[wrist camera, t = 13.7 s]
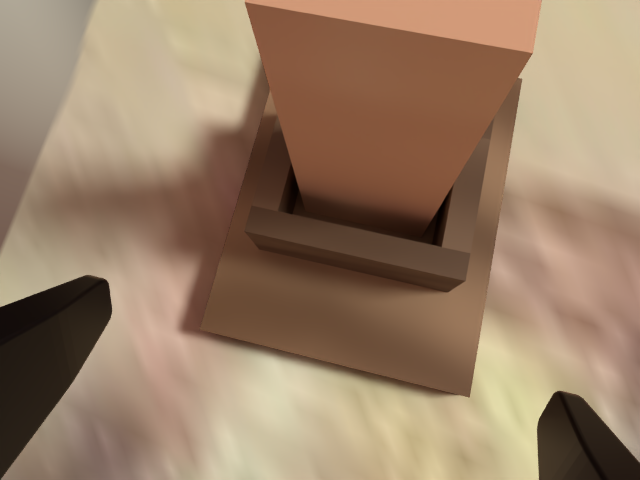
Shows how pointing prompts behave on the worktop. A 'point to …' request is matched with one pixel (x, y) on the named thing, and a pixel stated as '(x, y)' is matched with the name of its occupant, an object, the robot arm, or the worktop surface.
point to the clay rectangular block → (388, 96)
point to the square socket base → (363, 269)
